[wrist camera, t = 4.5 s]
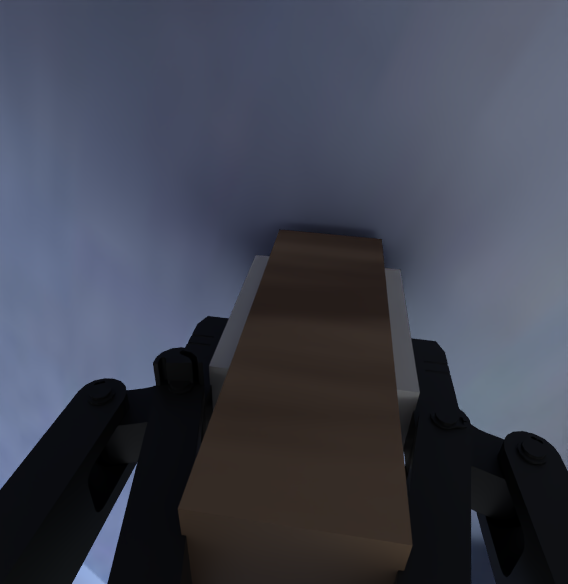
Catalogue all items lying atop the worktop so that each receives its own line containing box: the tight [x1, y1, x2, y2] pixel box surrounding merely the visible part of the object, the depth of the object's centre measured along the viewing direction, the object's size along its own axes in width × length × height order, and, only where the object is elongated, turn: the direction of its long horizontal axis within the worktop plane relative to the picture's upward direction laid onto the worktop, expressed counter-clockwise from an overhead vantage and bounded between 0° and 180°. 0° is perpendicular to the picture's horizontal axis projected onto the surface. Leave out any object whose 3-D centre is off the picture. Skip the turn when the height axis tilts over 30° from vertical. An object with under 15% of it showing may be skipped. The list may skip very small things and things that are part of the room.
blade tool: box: [178, 229, 413, 584], centre depth 18 cm, size 20×4×12 cm, turn 178°
